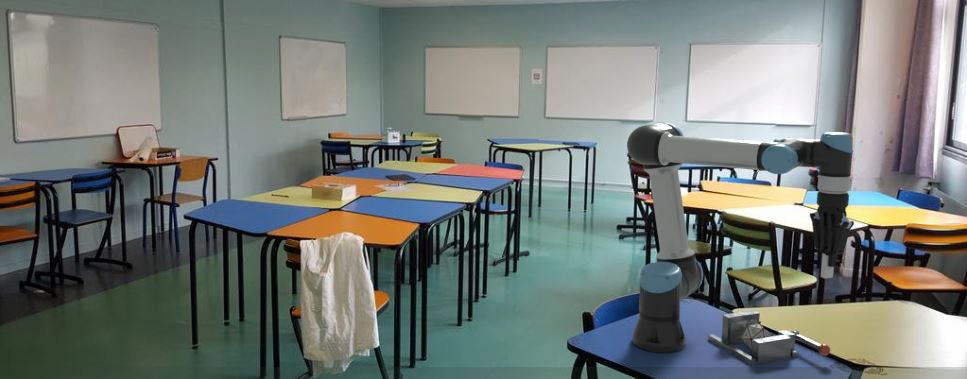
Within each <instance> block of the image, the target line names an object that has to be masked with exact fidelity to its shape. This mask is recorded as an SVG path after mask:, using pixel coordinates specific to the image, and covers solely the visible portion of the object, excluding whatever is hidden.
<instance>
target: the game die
mask: <svg viewBox="0 0 967 379" xmlns="http://www.w3.org/2000/svg"><path fill="white" fill-rule="evenodd" d="M761 323H762V321H760V320H759V324H755V325H749V326H748V325H747V324H746V326H747V327H746V328H744V329H745V331H744V333H743V335H742V338H739V339H738V340H742V341H743V343H744V344H745V345H746V346H747V347H748V348H749V349H750V350H751V351H750V353H751V354H752V344H753V340H755V339H761V338H767V337H773V336H775V334H771V332H768V330H766V328H765V327H764V326H763V325H761Z"/></svg>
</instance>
